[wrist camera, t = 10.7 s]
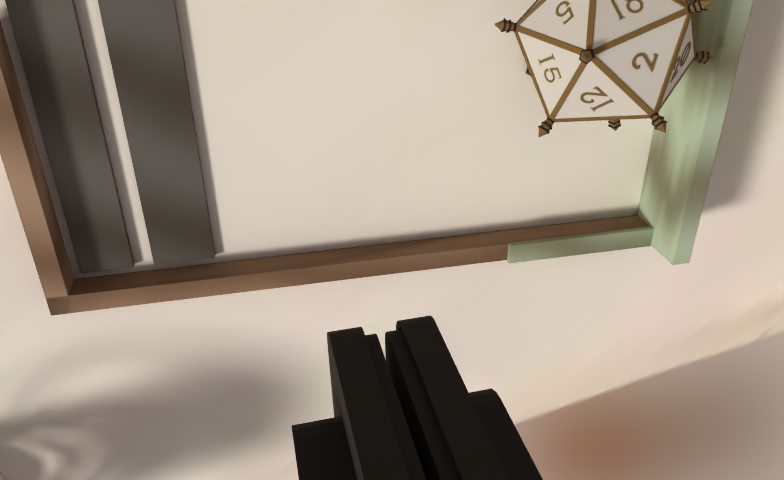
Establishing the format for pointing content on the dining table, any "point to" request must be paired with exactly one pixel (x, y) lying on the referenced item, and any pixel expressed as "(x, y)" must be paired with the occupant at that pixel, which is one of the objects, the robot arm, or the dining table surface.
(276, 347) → the dining table surface
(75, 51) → the shallow open box
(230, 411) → the dining table surface
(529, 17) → the game die
